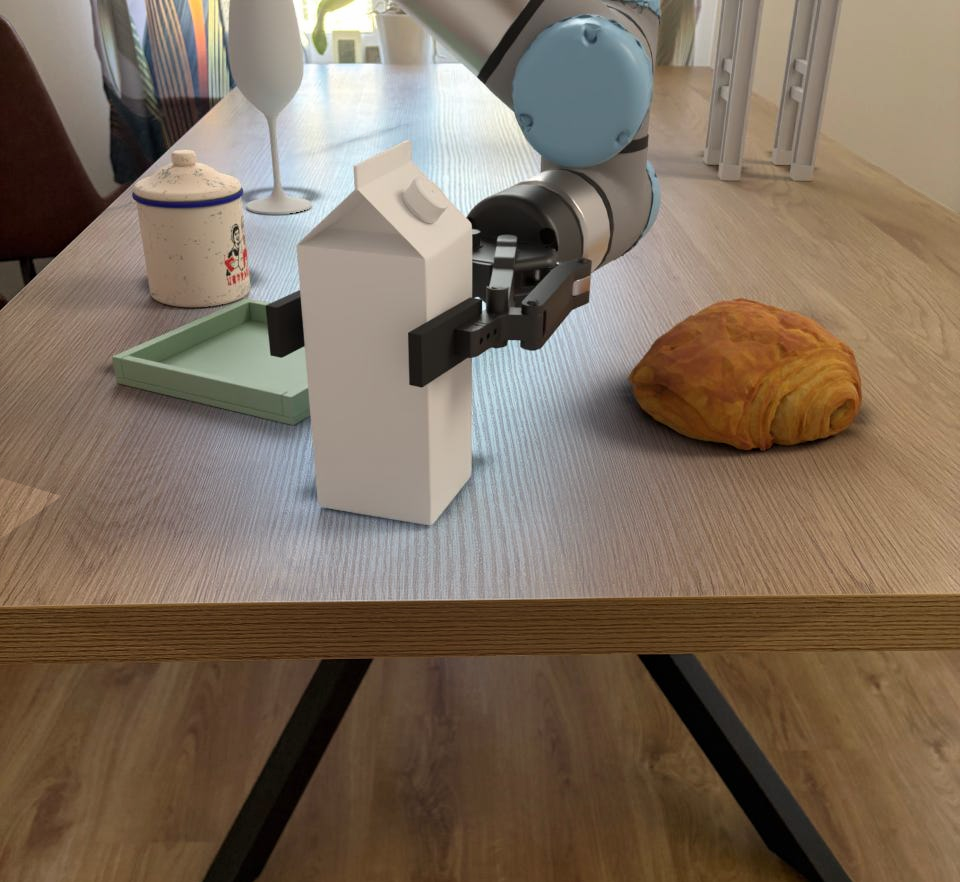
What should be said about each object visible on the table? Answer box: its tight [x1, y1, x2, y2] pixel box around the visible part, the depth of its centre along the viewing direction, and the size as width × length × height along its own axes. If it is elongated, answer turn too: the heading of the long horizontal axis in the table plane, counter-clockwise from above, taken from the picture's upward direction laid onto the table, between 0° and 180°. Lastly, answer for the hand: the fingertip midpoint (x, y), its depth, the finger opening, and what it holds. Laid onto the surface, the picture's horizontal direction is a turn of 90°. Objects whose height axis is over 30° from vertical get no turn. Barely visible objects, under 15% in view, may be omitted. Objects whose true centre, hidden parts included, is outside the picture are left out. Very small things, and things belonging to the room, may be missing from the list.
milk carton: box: [295, 139, 473, 526], centre depth 62 cm, size 7×7×19 cm
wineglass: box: [227, 0, 313, 216], centre depth 119 cm, size 8×8×21 cm
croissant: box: [627, 297, 863, 452], centre depth 76 cm, size 14×16×8 cm
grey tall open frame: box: [702, 0, 843, 182], centre depth 133 cm, size 16×16×35 cm
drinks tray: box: [111, 297, 311, 426], centre depth 83 cm, size 16×16×2 cm
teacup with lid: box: [131, 149, 251, 308], centre depth 96 cm, size 12×9×12 cm
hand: (342, 345), depth 57 cm, fingers closed on milk carton, 8 cm apart
